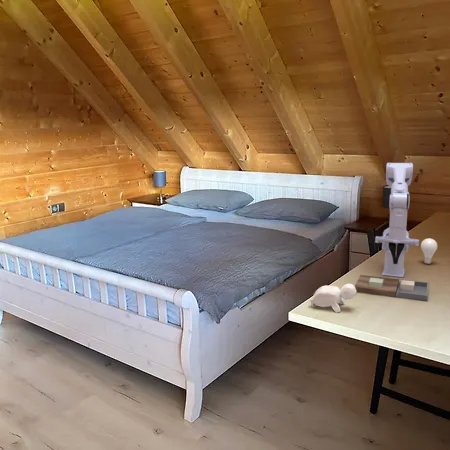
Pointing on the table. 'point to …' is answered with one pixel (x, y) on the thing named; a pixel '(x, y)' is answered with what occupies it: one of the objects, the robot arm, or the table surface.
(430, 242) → the lightbulb
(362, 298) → the table surface
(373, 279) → the tile green
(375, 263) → the table surface
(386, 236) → the robot arm
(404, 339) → the table surface
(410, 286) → the tile cream
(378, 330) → the table surface
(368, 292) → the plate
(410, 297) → the box
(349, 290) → the white turtle figurine
